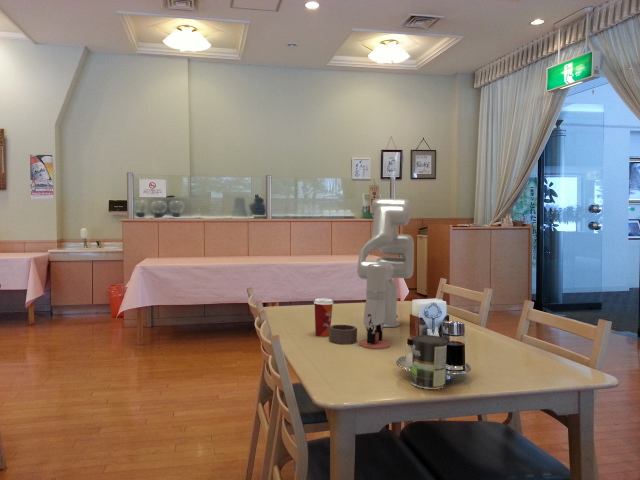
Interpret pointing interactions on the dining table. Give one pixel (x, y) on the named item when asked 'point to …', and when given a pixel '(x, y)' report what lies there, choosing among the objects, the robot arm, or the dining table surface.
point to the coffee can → (429, 361)
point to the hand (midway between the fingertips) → (374, 341)
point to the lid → (377, 344)
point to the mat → (377, 349)
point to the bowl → (342, 334)
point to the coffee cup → (323, 316)
